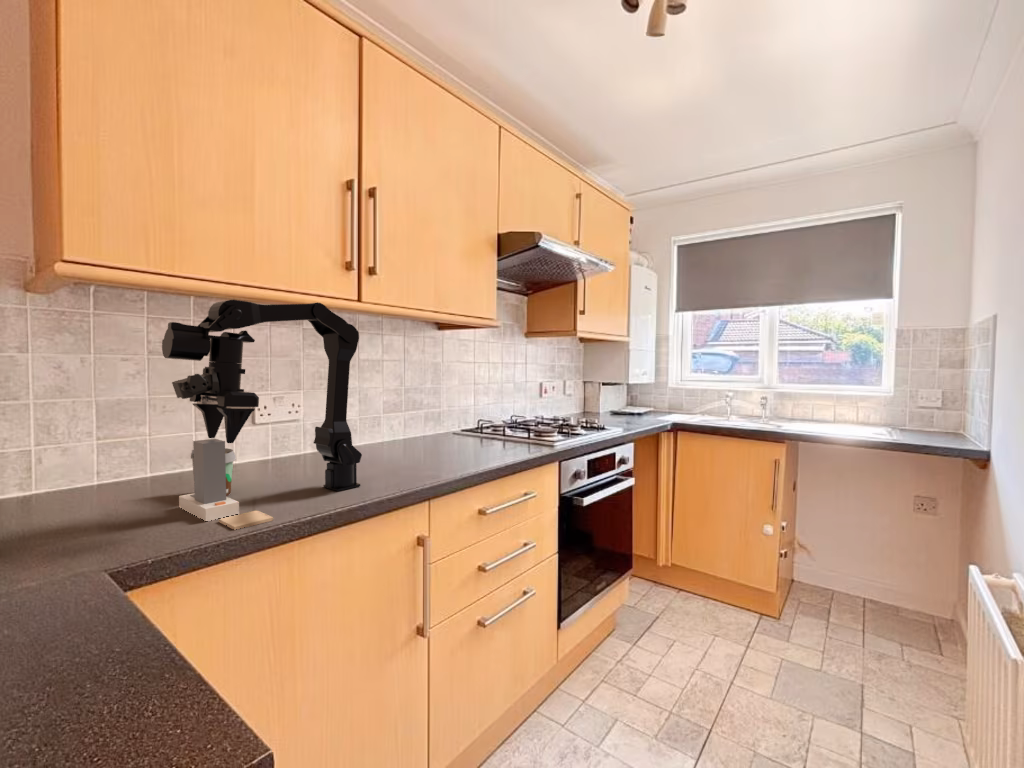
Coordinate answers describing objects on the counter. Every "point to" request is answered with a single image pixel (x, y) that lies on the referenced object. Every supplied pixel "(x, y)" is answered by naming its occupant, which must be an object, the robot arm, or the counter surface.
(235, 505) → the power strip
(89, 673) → the counter surface
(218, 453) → the brick
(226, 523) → the cork mat
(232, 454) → the food container
